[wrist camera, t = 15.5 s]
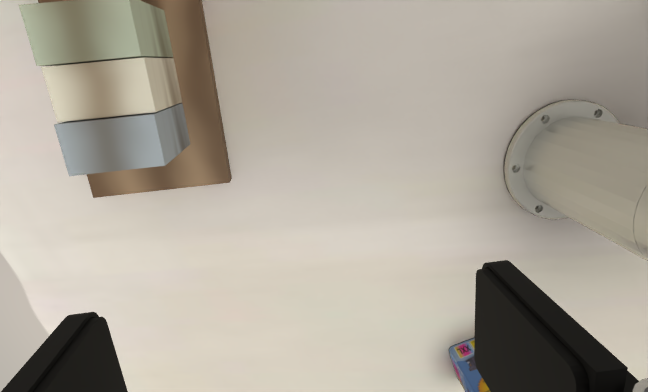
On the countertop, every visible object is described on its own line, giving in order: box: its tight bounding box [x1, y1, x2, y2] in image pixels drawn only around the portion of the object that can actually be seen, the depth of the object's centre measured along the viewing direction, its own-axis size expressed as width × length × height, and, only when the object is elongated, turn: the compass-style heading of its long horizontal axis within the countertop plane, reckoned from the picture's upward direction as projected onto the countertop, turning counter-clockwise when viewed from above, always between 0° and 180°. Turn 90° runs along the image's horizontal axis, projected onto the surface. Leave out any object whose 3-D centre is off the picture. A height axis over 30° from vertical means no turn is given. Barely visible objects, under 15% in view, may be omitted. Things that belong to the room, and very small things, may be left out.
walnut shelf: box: [19, 0, 232, 198], centre depth 33 cm, size 13×24×10 cm, turn 5°
